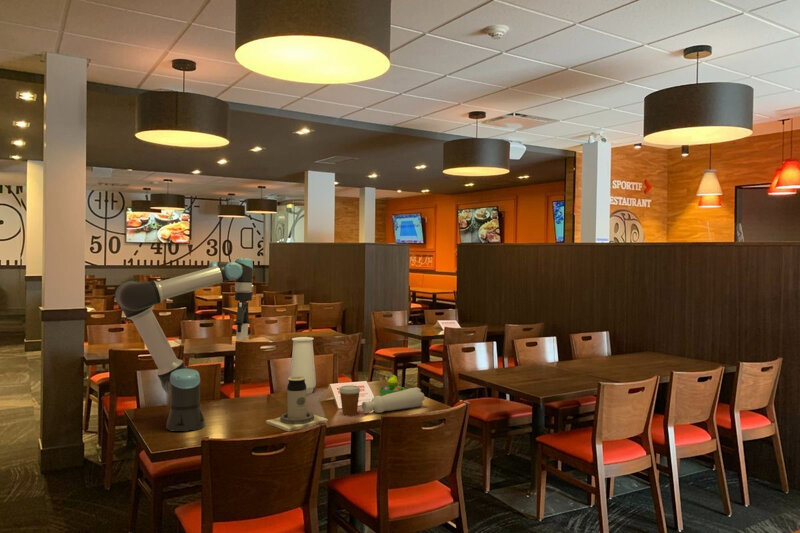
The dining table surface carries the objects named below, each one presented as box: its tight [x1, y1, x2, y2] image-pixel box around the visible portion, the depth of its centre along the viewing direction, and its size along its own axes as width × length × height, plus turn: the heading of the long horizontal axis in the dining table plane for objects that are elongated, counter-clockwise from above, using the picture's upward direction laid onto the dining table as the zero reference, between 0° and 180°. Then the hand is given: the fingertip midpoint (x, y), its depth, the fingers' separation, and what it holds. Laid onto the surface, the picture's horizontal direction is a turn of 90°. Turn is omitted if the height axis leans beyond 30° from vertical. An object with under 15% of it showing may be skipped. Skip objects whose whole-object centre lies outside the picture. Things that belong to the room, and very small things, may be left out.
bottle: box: [361, 387, 425, 414], centre depth 282 cm, size 9×9×30 cm
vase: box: [290, 336, 317, 395], centre depth 318 cm, size 13×13×28 cm
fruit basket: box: [379, 374, 405, 396], centre depth 305 cm, size 11×9×11 cm
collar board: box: [265, 411, 329, 433], centre depth 262 cm, size 20×17×3 cm
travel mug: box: [286, 376, 307, 419], centre depth 262 cm, size 8×8×18 cm
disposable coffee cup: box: [338, 384, 361, 416], centre depth 276 cm, size 10×10×12 cm
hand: (242, 338), depth 280 cm, fingers open, 13 cm apart
